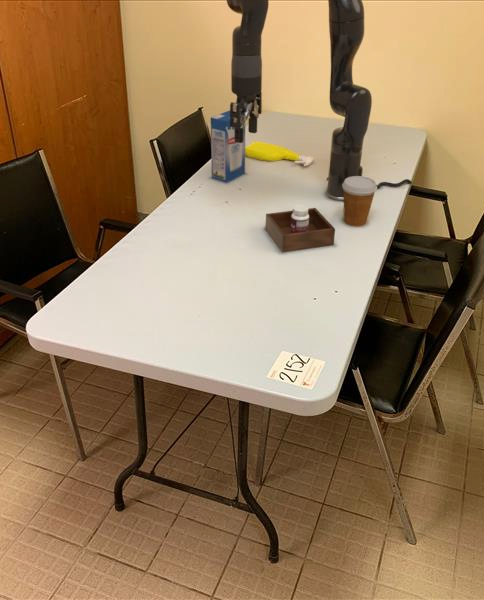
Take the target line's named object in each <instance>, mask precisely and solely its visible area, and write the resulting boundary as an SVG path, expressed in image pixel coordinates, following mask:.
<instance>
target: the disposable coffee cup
mask: <svg viewBox="0 0 484 600" xmlns="http://www.w3.org/2000/svg"><path fill="white" fill-rule="evenodd" d="M376 185H377V182H376V180H374V179H373V178H371V177H368V176H363V175H362V176H352V177H348V178H346V179H345V181H344V183H343V184H342V187H343V190H344V201H343V222H344V223H345V224H346V225H349V226H352V227H363V226H365V225H366V224H367V222H368V217H369V215H370V211H371V207H372V204H373V199H374V196H375V193H376V192H377V189H378V188H377V186H376Z"/></svg>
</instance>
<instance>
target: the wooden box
mask: <svg viewBox="0 0 484 600" xmlns="http://www.w3.org/2000/svg"><path fill="white" fill-rule="evenodd" d="M292 213H293V210H286V211H278V212H269V213H265V231H266V232H267V234H268V236H270V238H271V239H272V241H273V242H274V244H276V246H277V248H278V249H279V250H280V252H281V253H288V252H294V251H295V252H296V251H302V250H308V249H314V248H315V249H316V248H323V247H330V246H334V245H335V237H336V236H335V235H336V234H335V233H336V227H334V226H333V225H332V224H331V222H330V221H328V219H326V217H325V216H324V215H323V214H322V213H321V212H320V211H319V210H318V208H316V207H310V208H309V207H308V214H309V226H308V231H307V232H299V233H292V234H290V231H291V215H292Z"/></svg>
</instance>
